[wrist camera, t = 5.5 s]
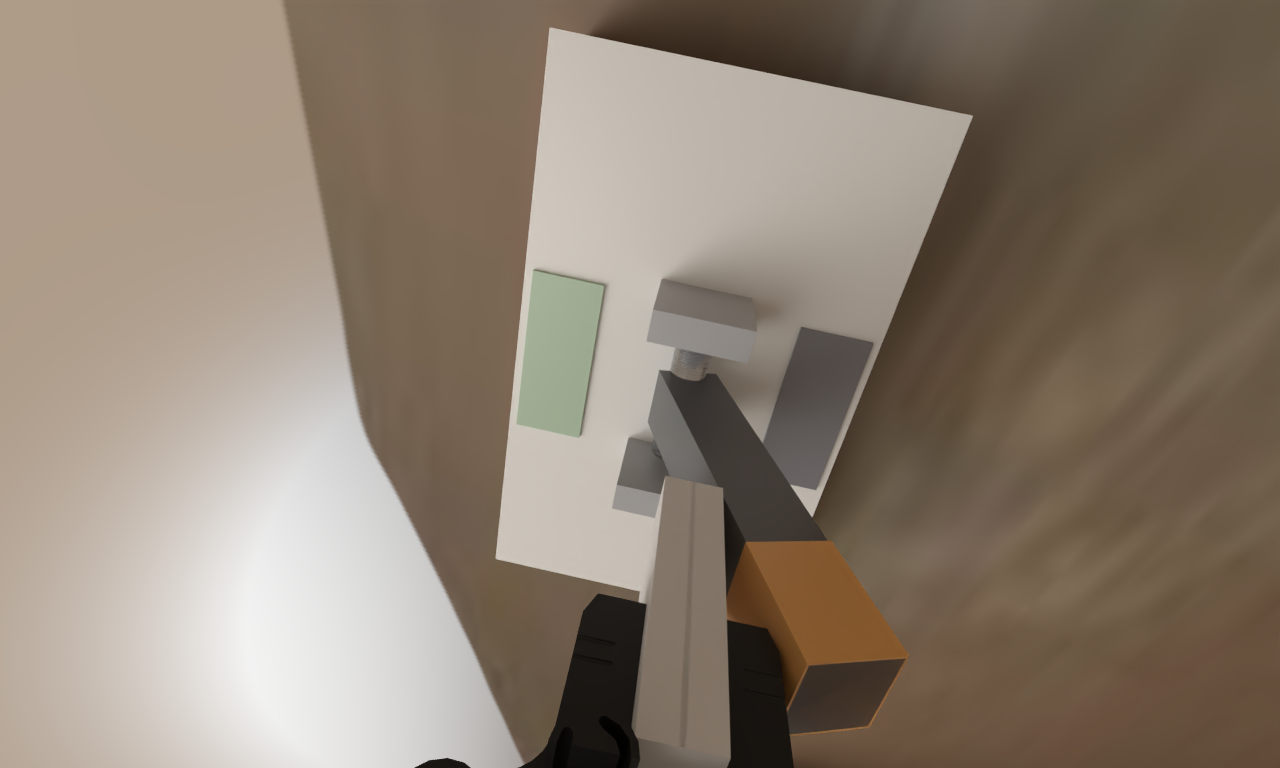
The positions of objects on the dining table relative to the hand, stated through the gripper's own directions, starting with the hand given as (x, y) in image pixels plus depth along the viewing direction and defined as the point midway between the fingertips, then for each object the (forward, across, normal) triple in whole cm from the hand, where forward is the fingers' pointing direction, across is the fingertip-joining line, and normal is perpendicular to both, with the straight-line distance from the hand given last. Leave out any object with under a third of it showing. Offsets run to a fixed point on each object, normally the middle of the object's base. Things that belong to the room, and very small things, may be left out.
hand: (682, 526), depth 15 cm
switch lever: (+6, 0, 0) cm, 6 cm away
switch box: (+12, 0, 0) cm, 12 cm away
